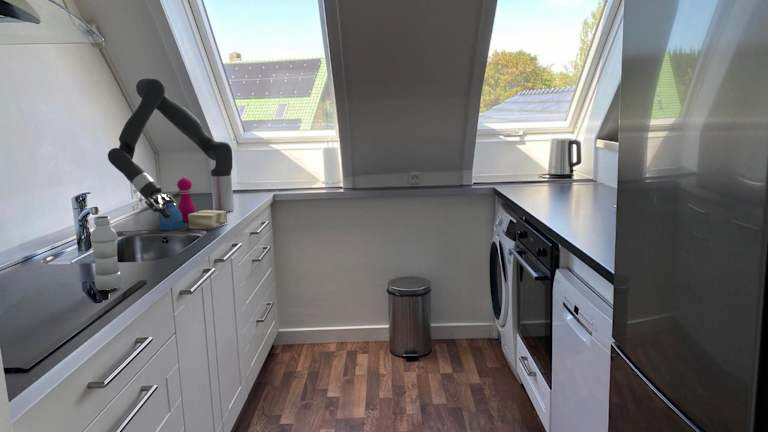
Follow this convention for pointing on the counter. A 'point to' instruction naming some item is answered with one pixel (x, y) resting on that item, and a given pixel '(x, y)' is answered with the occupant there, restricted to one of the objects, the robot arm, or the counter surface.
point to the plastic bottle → (105, 254)
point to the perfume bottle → (171, 217)
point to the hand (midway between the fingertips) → (173, 215)
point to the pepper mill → (185, 198)
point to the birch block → (207, 219)
